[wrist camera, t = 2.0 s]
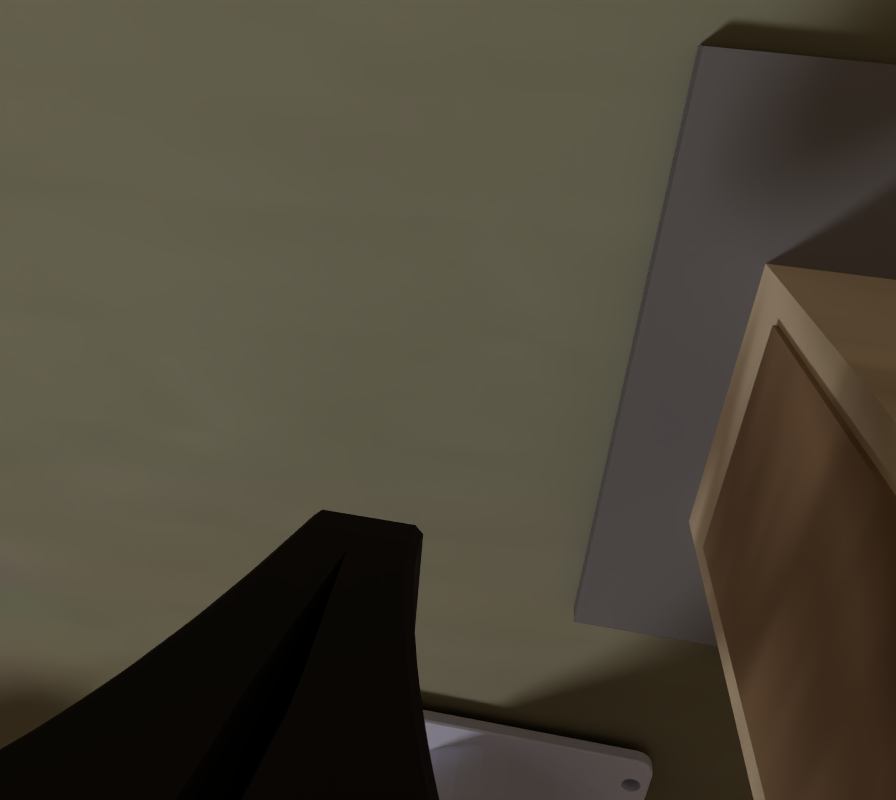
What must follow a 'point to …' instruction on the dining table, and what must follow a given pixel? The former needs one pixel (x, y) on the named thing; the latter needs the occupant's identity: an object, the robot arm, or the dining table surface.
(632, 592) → the rubber mat
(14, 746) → the robot arm
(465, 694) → the dining table surface
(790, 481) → the birch block
